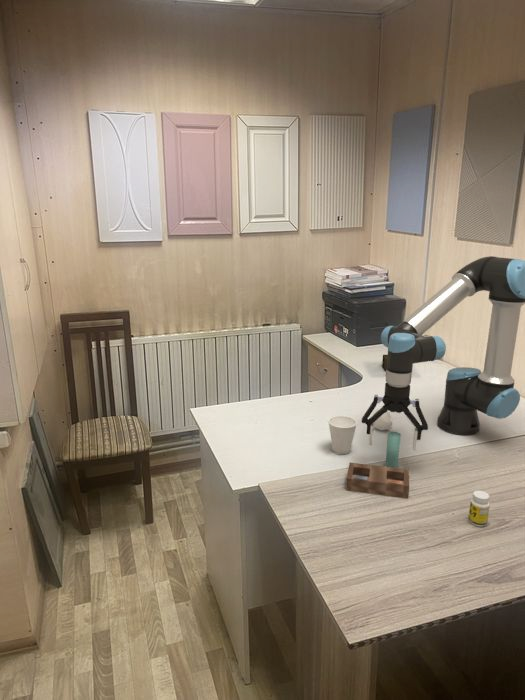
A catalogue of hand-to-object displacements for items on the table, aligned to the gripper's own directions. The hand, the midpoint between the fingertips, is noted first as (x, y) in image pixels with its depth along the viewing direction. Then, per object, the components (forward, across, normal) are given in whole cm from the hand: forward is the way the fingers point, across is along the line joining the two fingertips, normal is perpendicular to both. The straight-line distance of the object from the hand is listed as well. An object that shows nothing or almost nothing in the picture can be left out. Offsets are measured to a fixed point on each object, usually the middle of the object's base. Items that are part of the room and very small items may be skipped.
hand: (392, 446), depth 165 cm
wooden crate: (+8, +2, -102) cm, 103 cm away
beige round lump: (+8, +4, -29) cm, 31 cm away
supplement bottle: (+8, -23, +24) cm, 34 cm away
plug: (+8, 0, 0) cm, 8 cm away
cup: (+8, +17, -8) cm, 20 cm away
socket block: (+8, +4, +12) cm, 15 cm away
